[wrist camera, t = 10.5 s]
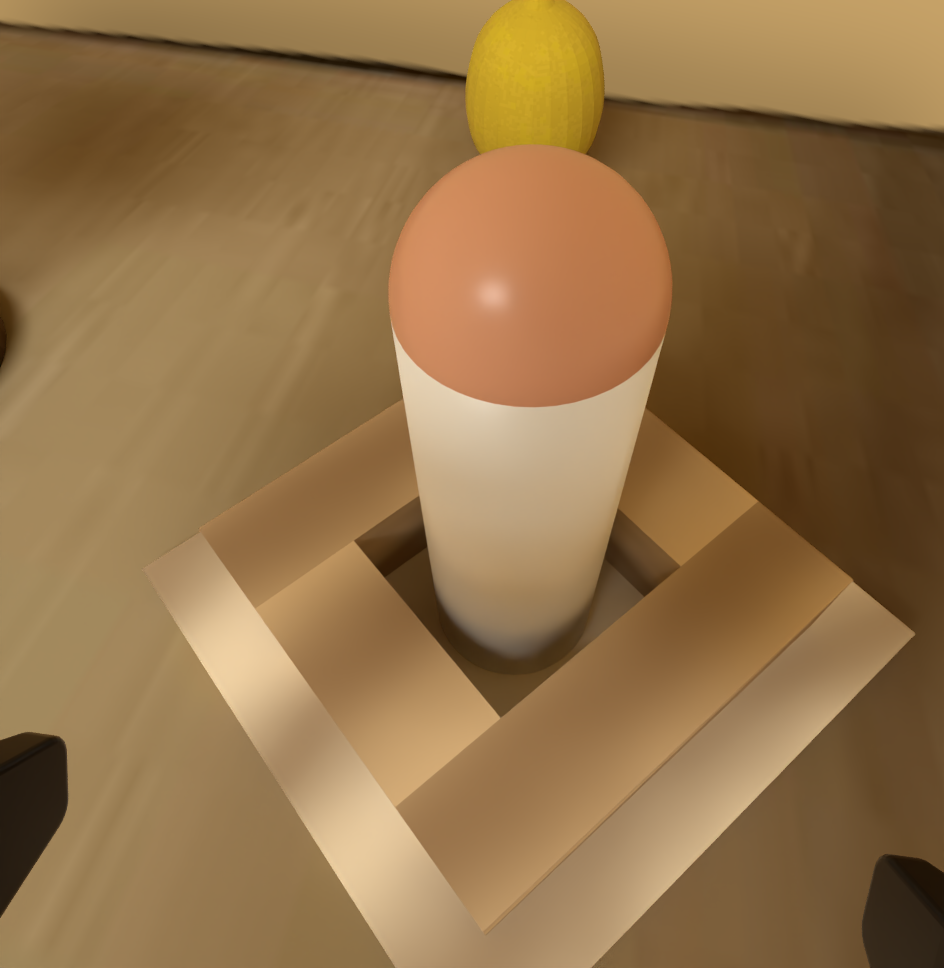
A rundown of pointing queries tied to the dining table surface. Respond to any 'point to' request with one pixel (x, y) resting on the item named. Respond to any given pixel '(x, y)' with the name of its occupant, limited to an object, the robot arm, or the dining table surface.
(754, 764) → the frame
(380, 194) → the dining table surface
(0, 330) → the candlestick
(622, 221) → the ball-topped white cylinder
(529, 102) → the lemon
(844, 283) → the dining table surface
